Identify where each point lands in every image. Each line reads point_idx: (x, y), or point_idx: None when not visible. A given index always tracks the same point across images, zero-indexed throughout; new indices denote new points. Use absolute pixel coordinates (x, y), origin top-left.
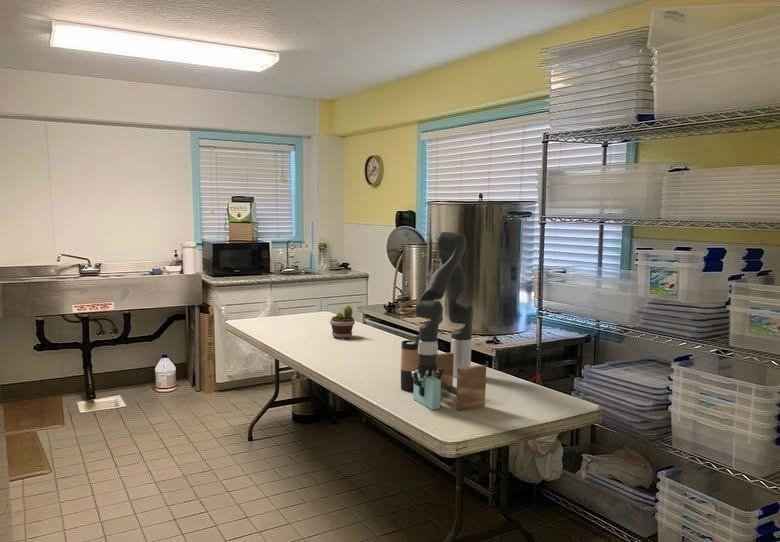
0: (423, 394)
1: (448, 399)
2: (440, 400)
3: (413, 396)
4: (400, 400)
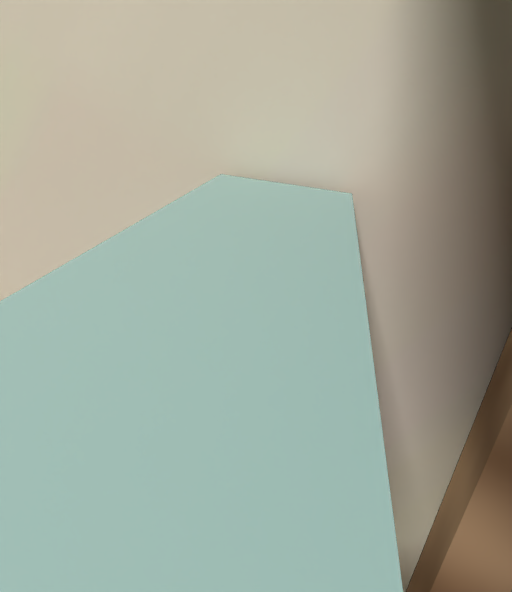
0: None
1: (508, 545)
2: (476, 430)
3: (212, 181)
4: (46, 102)
